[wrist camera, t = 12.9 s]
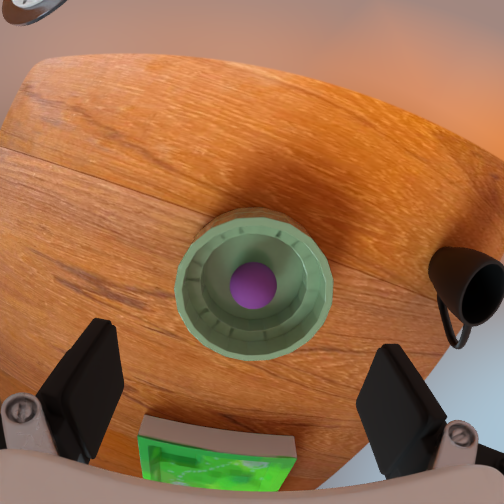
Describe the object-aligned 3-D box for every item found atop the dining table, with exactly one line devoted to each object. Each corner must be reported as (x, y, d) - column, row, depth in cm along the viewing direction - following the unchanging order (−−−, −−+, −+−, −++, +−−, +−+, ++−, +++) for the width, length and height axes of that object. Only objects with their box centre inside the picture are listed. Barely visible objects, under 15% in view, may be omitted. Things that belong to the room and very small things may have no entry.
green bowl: (159, 264, 35) (143, 285, 29) (264, 177, 32) (267, 182, 26) (244, 351, 39) (243, 381, 33) (344, 282, 36) (360, 304, 30)
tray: (262, 495, 52) (263, 513, 47) (150, 479, 50) (146, 497, 46) (293, 436, 45) (297, 458, 40) (144, 414, 43) (137, 436, 38)
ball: (221, 273, 35) (217, 292, 30) (256, 246, 34) (257, 262, 29) (249, 303, 36) (249, 326, 31) (283, 279, 35) (288, 299, 30)
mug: (404, 316, 38) (436, 356, 29) (429, 232, 34) (473, 256, 25) (446, 318, 38) (480, 352, 29) (471, 241, 35) (515, 264, 25)
